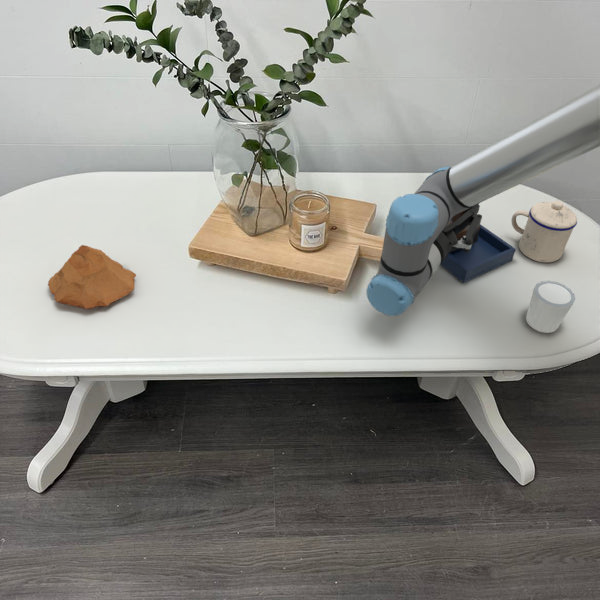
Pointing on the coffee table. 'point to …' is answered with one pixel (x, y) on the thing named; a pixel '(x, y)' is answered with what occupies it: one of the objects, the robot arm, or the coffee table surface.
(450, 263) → the tray
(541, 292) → the white short cylinder
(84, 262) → the stone
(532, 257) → the teacup with lid
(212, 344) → the coffee table surface
